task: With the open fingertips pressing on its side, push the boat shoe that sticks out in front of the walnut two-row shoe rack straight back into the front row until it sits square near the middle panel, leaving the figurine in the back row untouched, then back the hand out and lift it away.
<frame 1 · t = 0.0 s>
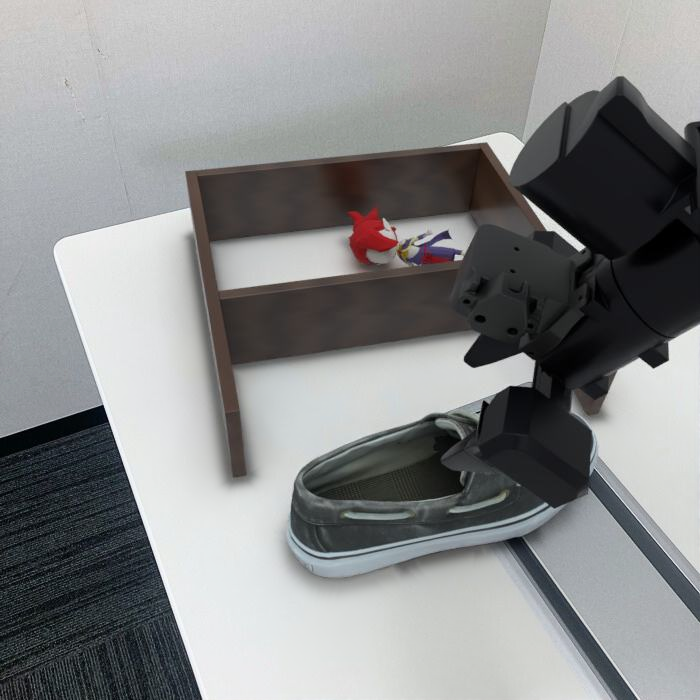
hand: (457, 410, 51), 16 cm above the table, tool tilted 35°, fingers open, 9 cm apart
figurine: (400, 266, 87), on the table
boat shoe: (449, 509, 65), on the table
shoe rack: (356, 265, 87), on the table
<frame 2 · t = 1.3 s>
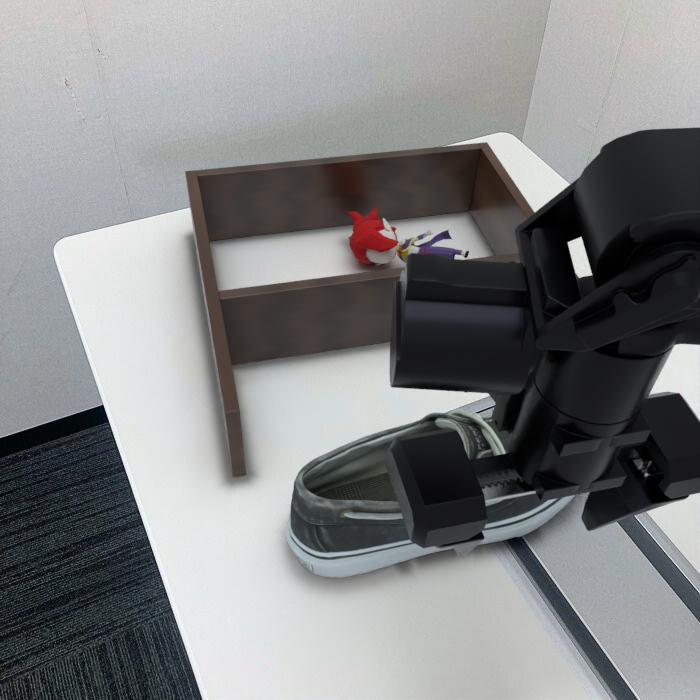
hand: (523, 537, 50), 12 cm above the table, tool pointing down, fingers open, 9 cm apart
nothing on the table moved.
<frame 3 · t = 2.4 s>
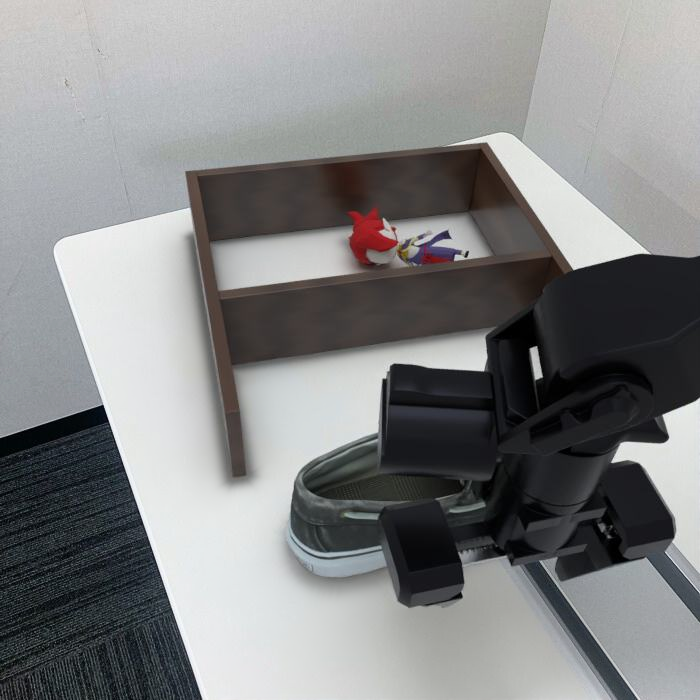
hand: (501, 587, 55), 5 cm above the table, tool pointing down, fingers open, 9 cm apart
nothing on the table moved.
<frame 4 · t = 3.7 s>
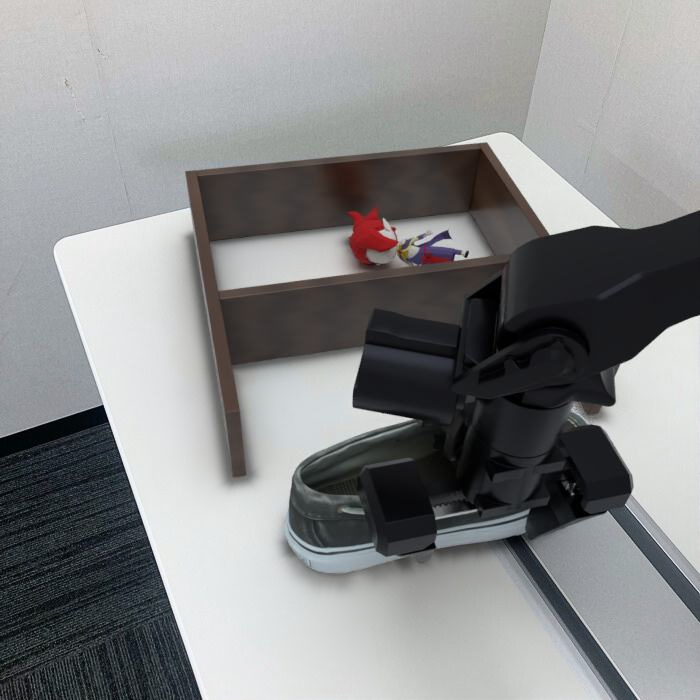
hand: (475, 546, 59), 3 cm above the table, tool pointing down, fingers open, 9 cm apart
boat shoe: (448, 507, 65), on the table, touching gripper
everything else where it was.
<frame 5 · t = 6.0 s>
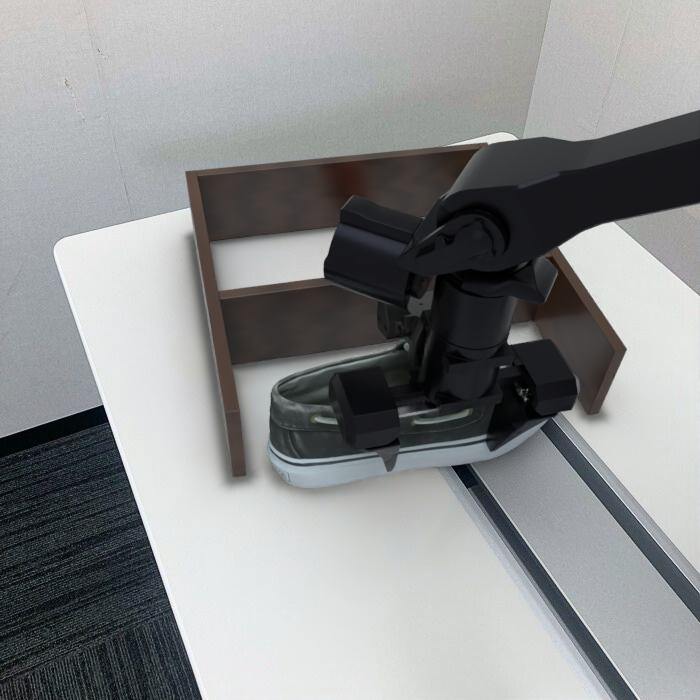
hand: (439, 457, 64), 4 cm above the table, tool pointing down
boat shoe: (423, 438, 69), on the table, touching gripper
everything else where it was.
when the fingers open (4 cm above the table, at t = 7.9 s): boat shoe stays where it is, on the table.
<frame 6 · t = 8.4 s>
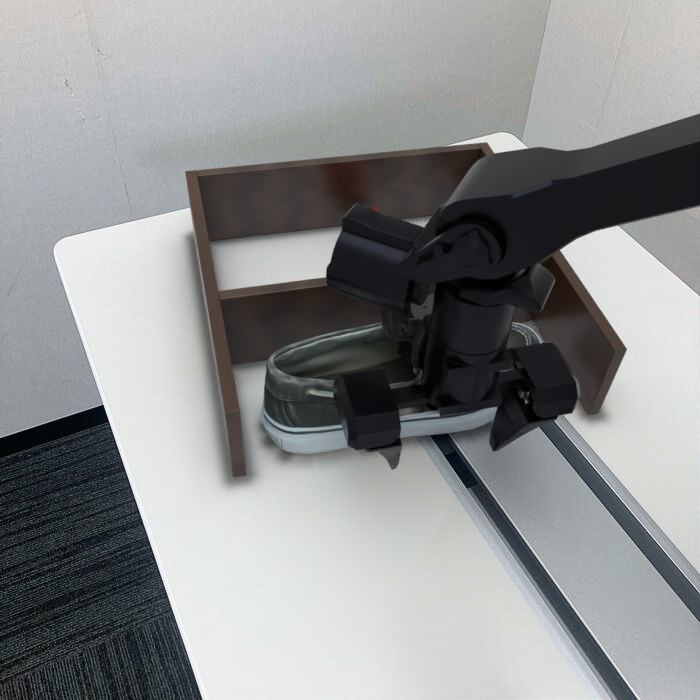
hand: (443, 455, 65), 3 cm above the table, tool pointing down, fingers open, 9 cm apart
boat shoe: (409, 406, 73), on the table
everything else where it was.
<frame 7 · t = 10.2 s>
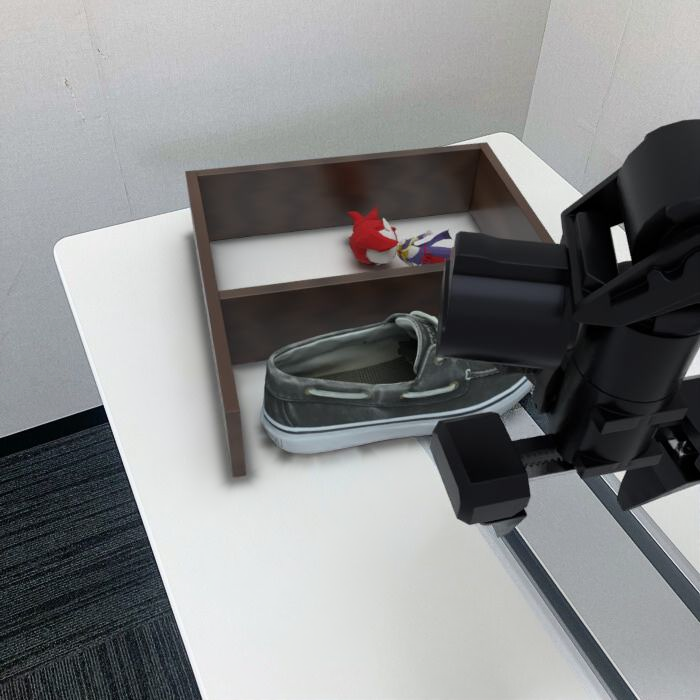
hand: (560, 517, 51), 12 cm above the table, tool pointing down, fingers open, 9 cm apart
nothing on the table moved.
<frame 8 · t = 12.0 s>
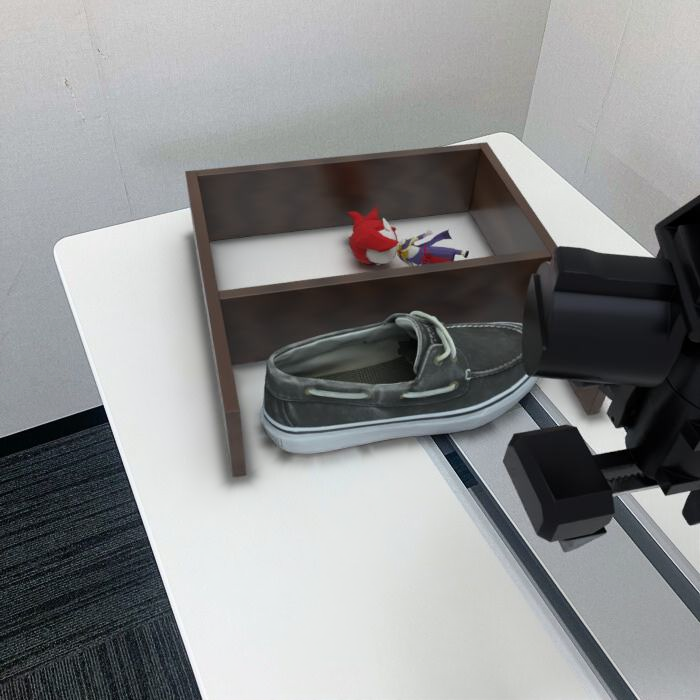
hand: (626, 532, 50), 12 cm above the table, tool pointing down, fingers open, 9 cm apart
nothing on the table moved.
at the end: boat shoe inside the target area on the shoe rack (3.3 cm from its centre), point 0.0 cm above the shoe rack's base; boat shoe tilted 0°; figurine moved 0.2 cm from its start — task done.
